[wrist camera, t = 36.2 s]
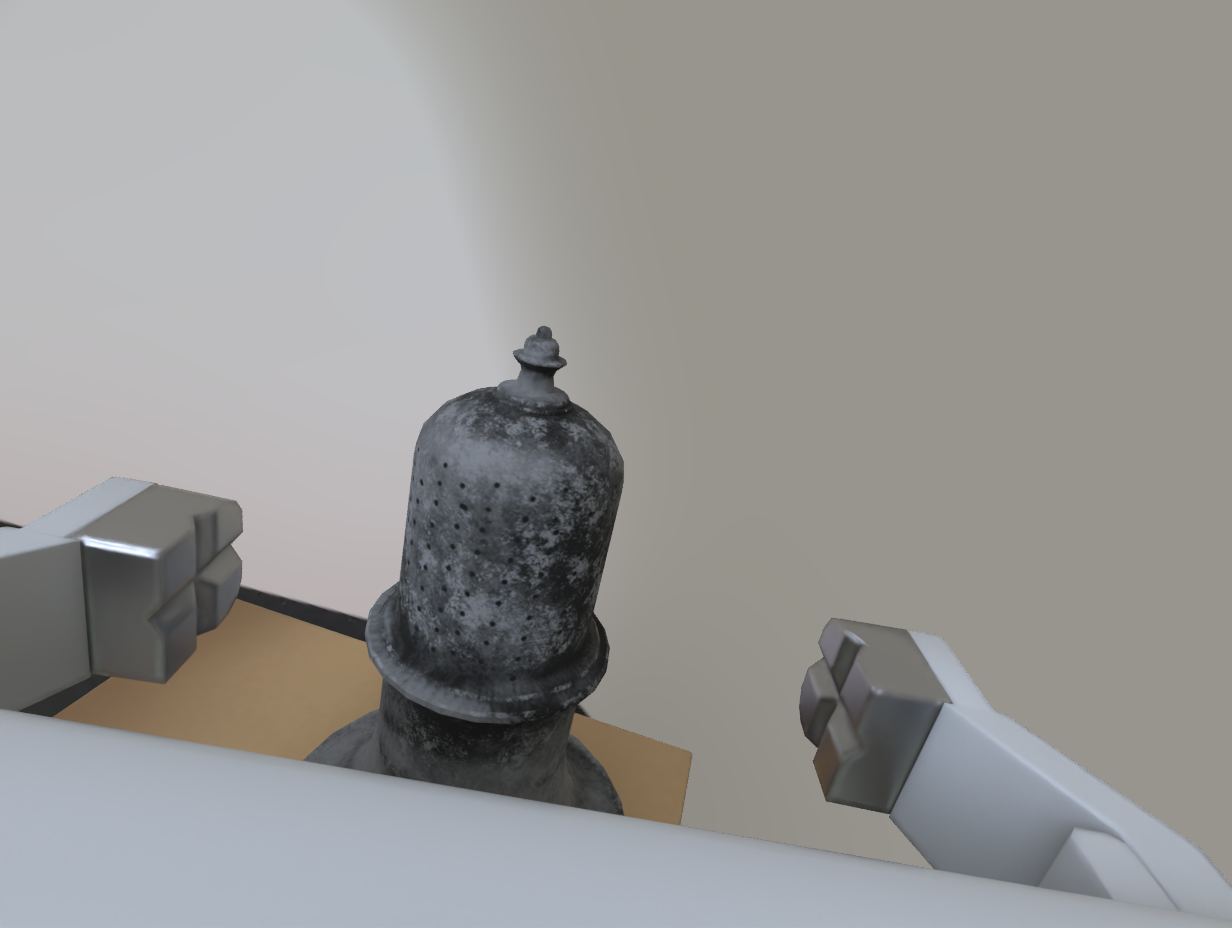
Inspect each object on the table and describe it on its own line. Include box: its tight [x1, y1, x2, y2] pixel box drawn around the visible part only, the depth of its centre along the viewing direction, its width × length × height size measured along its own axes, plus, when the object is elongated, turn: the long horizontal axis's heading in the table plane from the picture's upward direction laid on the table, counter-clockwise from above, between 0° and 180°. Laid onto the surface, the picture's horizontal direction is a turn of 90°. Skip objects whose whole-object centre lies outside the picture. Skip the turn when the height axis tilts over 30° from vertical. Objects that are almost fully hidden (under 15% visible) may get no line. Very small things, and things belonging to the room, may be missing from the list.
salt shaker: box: [302, 326, 624, 816], centre depth 11 cm, size 6×6×12 cm
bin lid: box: [52, 599, 692, 825], centre depth 15 cm, size 14×13×1 cm
